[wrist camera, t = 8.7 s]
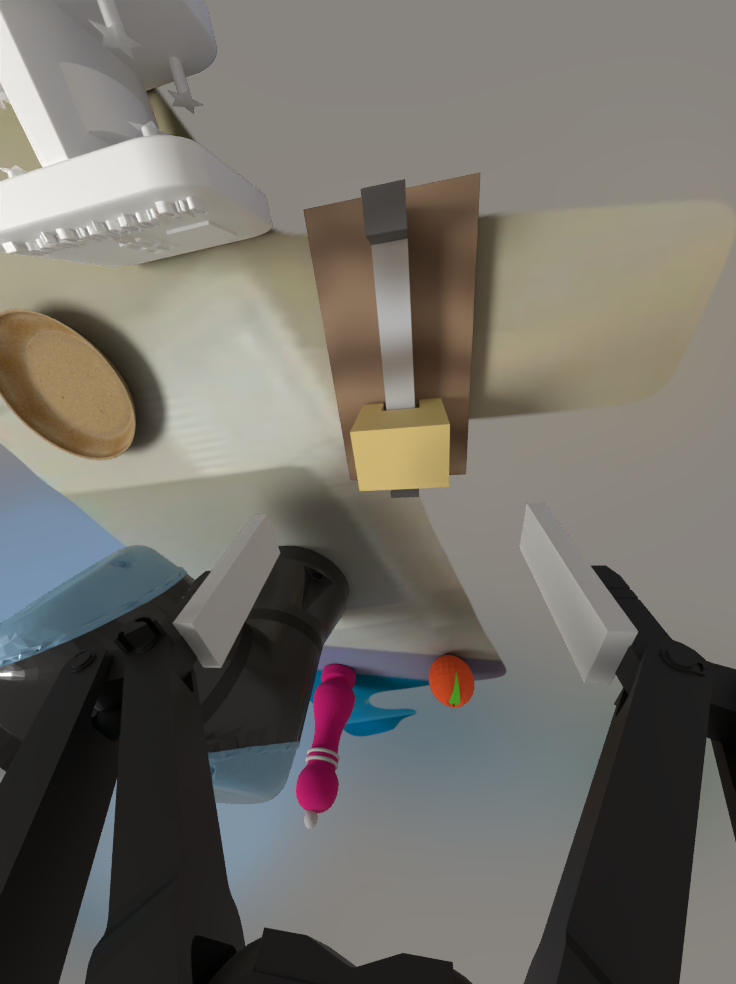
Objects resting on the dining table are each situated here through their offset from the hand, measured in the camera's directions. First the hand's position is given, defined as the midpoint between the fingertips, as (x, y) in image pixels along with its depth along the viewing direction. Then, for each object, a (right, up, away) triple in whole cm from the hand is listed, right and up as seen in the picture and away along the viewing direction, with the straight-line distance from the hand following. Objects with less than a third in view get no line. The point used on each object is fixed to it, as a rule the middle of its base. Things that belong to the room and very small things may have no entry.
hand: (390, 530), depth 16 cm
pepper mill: (-7, -32, +41) cm, 53 cm away
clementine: (+12, -25, +34) cm, 44 cm away
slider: (+2, +8, +13) cm, 15 cm away
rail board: (+2, +14, +12) cm, 18 cm away
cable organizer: (-16, +26, +7) cm, 31 cm away
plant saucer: (-32, +13, +17) cm, 39 cm away
